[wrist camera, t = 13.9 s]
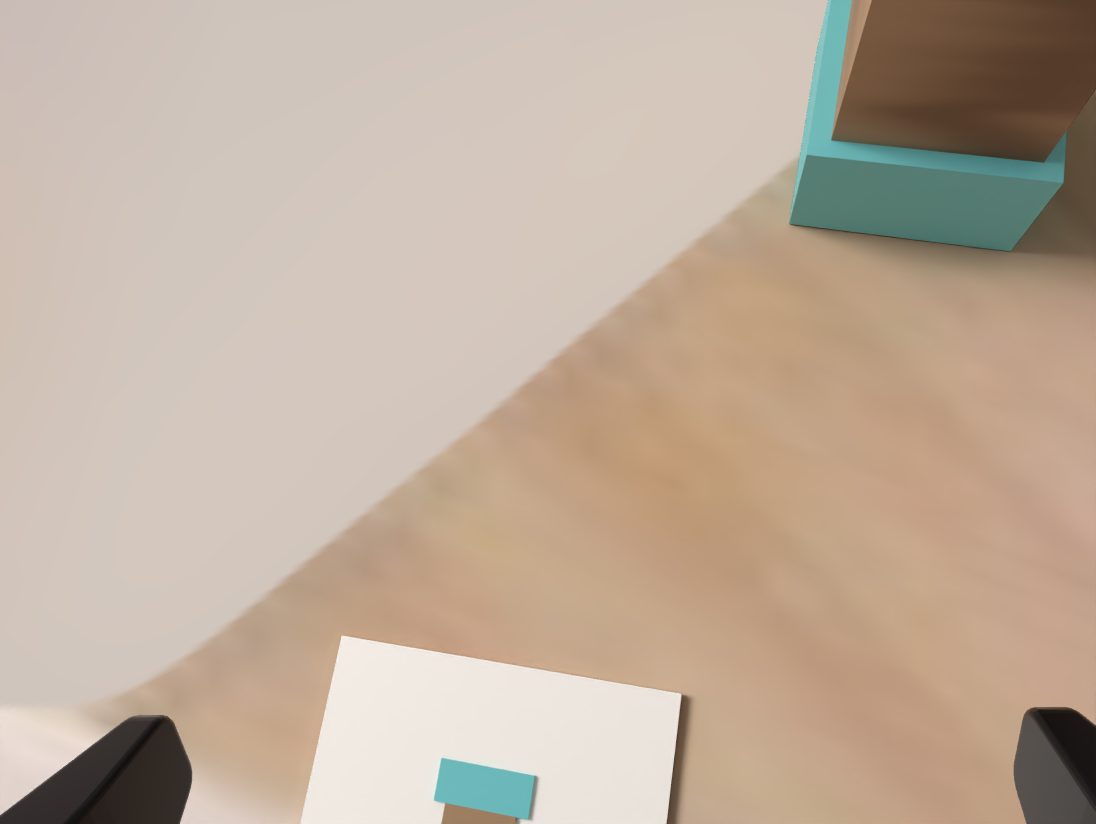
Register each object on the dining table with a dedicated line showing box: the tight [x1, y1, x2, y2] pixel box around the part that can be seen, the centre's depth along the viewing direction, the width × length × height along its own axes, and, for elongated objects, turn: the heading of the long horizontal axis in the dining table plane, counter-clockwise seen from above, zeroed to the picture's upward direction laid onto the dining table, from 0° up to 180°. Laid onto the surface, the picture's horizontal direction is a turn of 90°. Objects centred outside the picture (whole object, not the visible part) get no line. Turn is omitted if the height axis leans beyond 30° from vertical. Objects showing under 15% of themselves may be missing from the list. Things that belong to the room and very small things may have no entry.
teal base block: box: [789, 0, 1067, 251], centre depth 24 cm, size 6×6×4 cm
